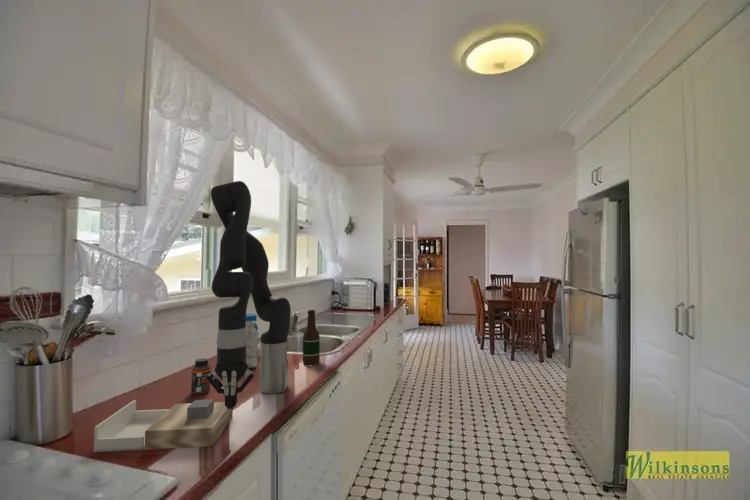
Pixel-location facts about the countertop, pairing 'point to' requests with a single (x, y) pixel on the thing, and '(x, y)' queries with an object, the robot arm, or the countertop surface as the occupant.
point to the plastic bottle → (251, 344)
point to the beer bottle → (311, 341)
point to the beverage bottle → (253, 318)
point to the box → (125, 429)
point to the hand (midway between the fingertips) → (230, 407)
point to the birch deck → (187, 428)
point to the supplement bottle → (200, 377)
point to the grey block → (200, 409)
